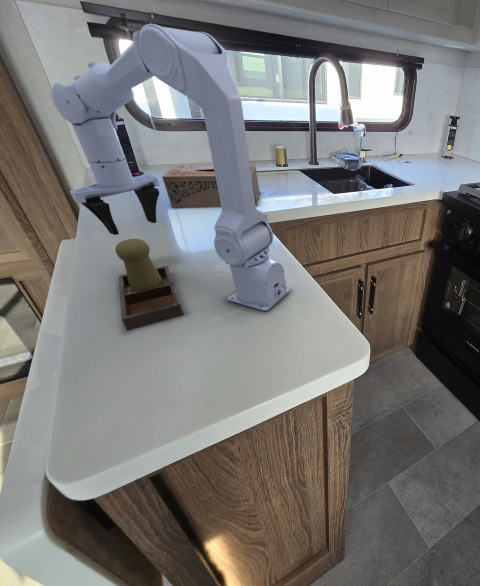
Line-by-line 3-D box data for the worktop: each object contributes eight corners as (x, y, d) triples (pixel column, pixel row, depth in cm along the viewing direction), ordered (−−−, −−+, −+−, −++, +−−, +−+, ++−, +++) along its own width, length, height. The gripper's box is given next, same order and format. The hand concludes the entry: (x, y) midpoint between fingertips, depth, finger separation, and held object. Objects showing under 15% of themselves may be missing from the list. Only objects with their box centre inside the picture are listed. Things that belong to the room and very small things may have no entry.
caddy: (183, 314, 63) (179, 304, 61) (127, 330, 58) (121, 319, 57) (171, 275, 74) (167, 265, 72) (122, 286, 69) (118, 275, 68)
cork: (159, 279, 72) (141, 232, 66) (171, 289, 69) (153, 241, 63) (127, 290, 68) (104, 241, 62) (138, 302, 65) (116, 251, 59)
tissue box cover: (259, 192, 124) (255, 165, 119) (256, 205, 113) (251, 175, 107) (183, 194, 118) (174, 165, 113) (172, 208, 107) (162, 176, 101)
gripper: (134, 150, 69) (156, 213, 76) (48, 162, 58) (83, 234, 66) (155, 155, 66) (176, 220, 74) (69, 169, 55) (103, 243, 63)
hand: (134, 227), depth 70 cm, fingers open, 7 cm apart
